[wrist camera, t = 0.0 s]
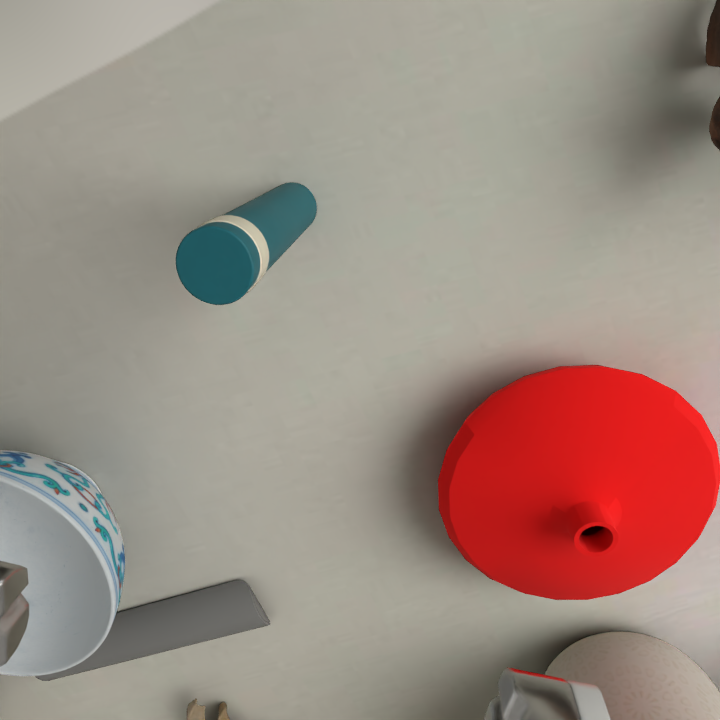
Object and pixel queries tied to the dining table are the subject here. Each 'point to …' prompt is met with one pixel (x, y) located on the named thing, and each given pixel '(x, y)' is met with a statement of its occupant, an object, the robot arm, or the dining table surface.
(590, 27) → the dining table surface
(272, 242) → the teal banded tube
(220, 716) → the jawbone
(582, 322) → the dining table surface
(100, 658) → the half round rod
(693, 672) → the planter
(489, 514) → the red disc with nozzle
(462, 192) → the dining table surface
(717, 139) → the broken brown pottery vessel
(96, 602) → the chinaware
